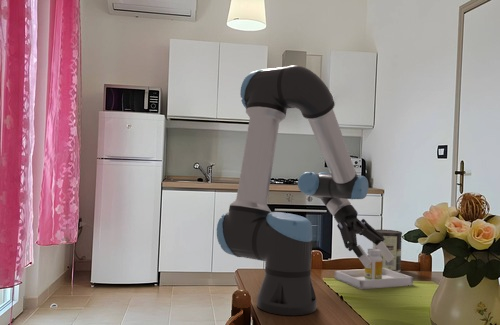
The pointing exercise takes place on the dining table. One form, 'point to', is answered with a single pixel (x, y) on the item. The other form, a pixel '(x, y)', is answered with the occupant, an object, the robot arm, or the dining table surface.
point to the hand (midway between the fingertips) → (380, 262)
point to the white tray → (359, 281)
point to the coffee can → (391, 249)
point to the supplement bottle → (374, 265)
